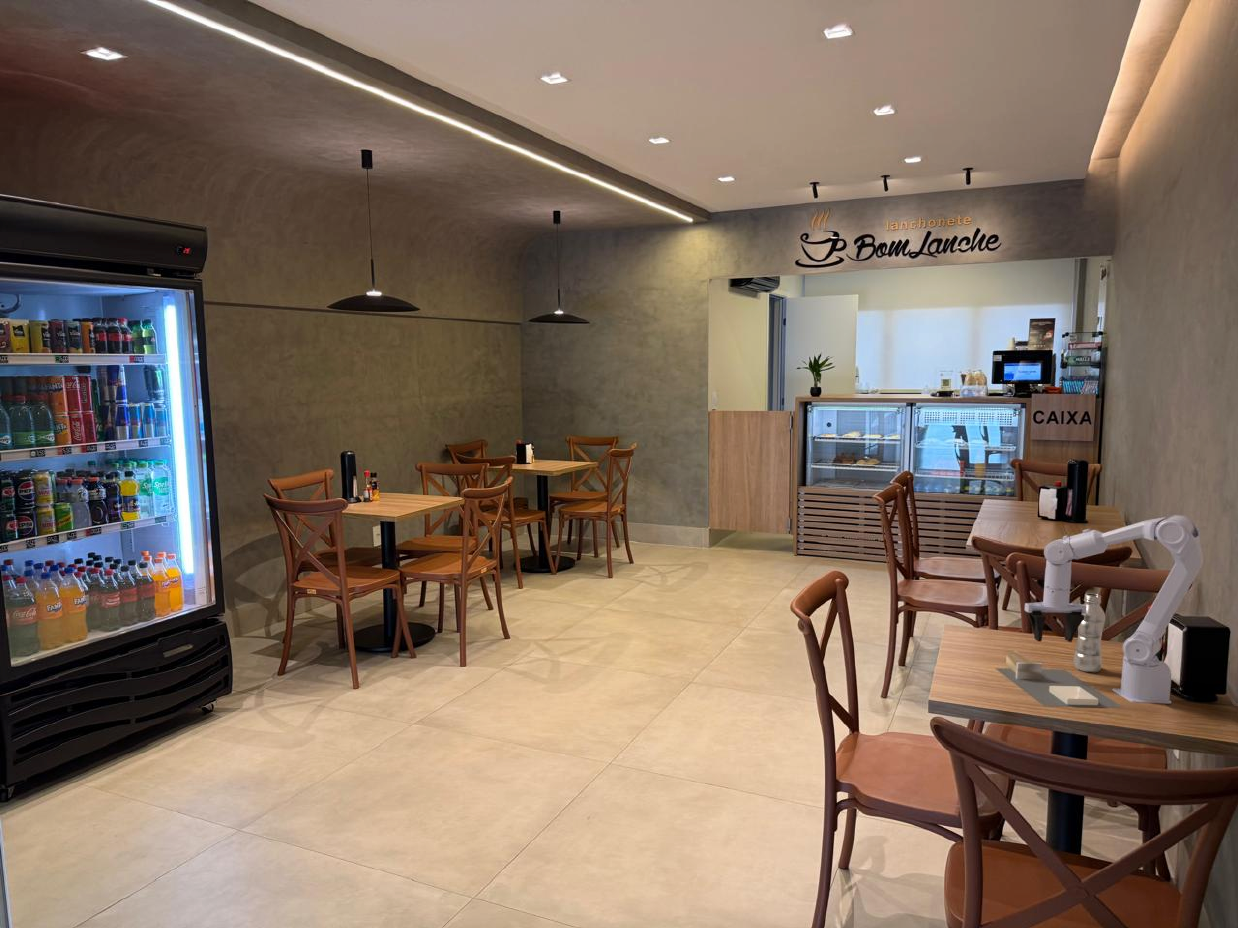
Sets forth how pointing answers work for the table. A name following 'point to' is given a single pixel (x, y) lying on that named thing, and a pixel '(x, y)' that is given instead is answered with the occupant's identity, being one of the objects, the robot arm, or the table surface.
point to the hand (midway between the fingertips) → (1053, 640)
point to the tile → (1073, 695)
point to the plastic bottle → (1090, 636)
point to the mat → (1055, 678)
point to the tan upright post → (1023, 666)
